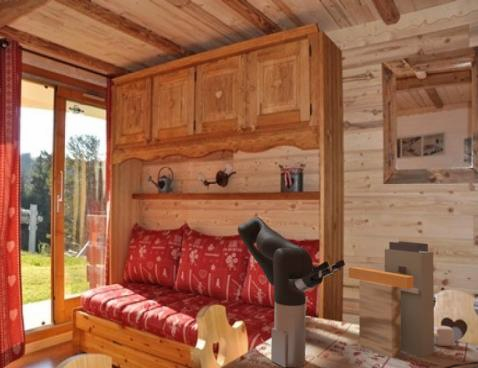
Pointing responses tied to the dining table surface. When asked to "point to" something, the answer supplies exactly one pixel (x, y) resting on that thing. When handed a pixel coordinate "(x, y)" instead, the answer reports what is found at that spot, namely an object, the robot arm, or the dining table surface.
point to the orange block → (382, 277)
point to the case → (414, 295)
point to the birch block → (380, 318)
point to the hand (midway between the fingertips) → (335, 262)
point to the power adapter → (443, 336)
